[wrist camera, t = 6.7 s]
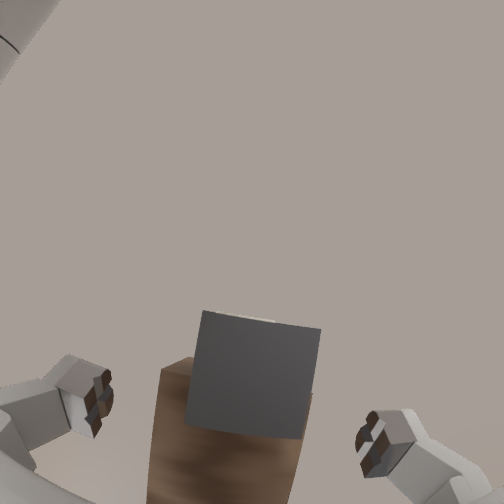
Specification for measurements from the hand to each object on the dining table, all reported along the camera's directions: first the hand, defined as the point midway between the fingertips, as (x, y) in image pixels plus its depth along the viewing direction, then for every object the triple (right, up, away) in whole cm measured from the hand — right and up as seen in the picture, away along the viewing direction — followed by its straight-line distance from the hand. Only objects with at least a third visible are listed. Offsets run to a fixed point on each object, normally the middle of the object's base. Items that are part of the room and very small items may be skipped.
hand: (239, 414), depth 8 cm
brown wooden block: (-5, -30, +3) cm, 30 cm away
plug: (0, -2, +6) cm, 7 cm away
